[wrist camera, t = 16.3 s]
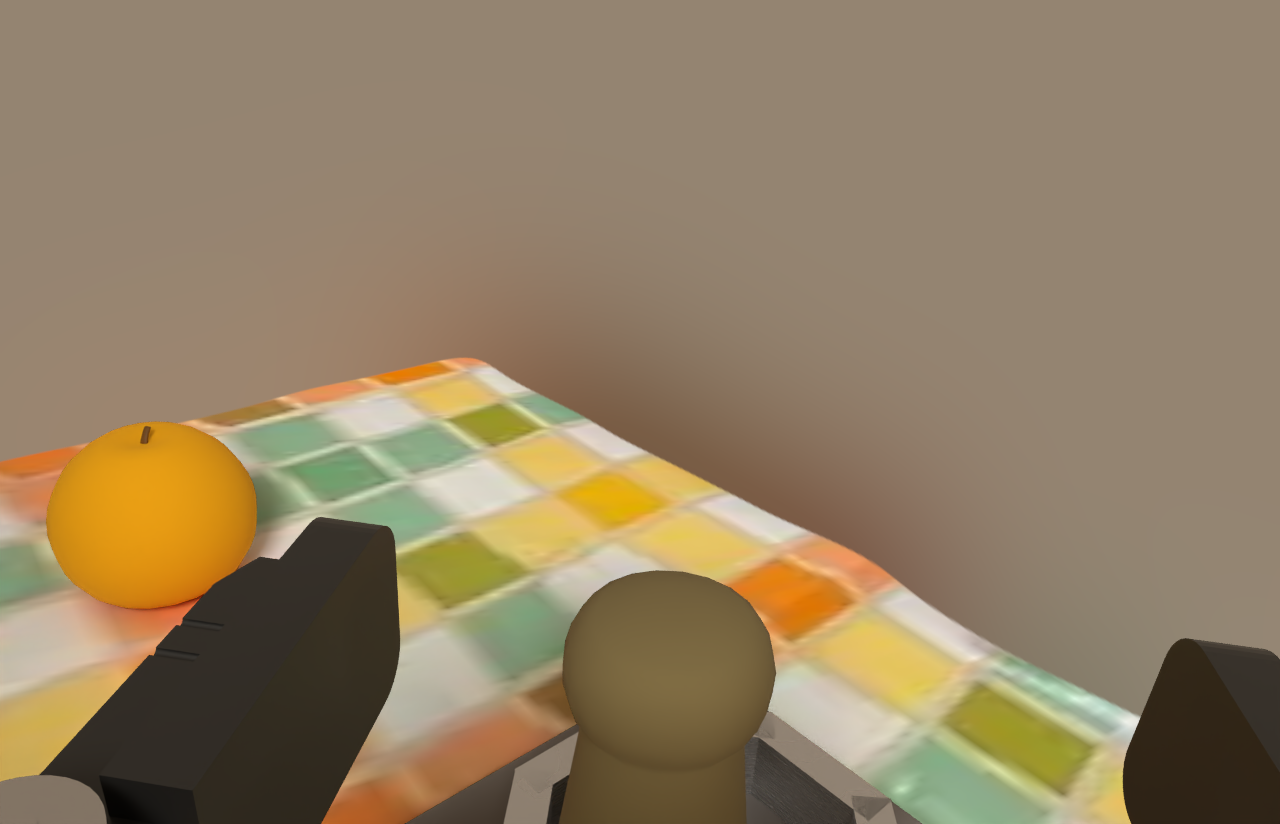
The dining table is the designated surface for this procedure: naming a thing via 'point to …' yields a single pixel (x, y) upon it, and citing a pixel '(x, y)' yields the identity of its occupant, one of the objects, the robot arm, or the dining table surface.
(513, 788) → the steel ring
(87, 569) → the orange
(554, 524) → the dining table surface
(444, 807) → the holder plate
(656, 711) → the cork
